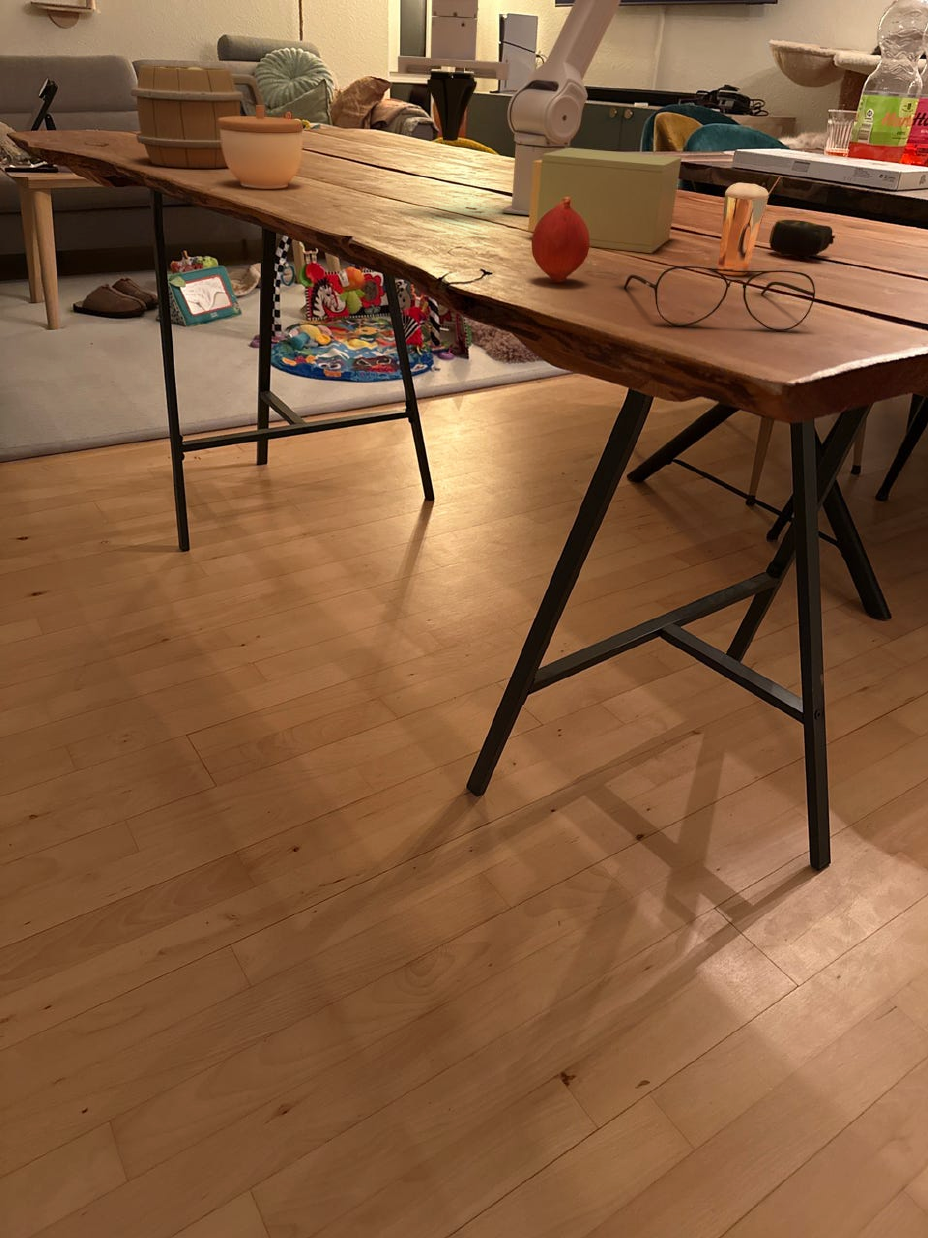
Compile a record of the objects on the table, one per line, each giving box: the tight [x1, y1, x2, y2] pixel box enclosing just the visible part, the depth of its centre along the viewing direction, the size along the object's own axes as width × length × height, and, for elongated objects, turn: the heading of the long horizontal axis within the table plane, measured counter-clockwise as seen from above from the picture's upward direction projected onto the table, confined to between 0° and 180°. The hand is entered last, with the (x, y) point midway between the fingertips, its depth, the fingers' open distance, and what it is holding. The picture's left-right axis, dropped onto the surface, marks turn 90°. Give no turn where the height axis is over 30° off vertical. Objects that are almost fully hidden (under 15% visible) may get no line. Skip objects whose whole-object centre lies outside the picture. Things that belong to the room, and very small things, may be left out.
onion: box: [531, 197, 591, 283], centre depth 93 cm, size 6×6×8 cm
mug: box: [130, 64, 268, 169], centre depth 164 cm, size 19×25×15 cm
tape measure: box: [768, 219, 836, 259], centre depth 114 cm, size 7×7×4 cm
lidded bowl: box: [218, 105, 304, 190], centre depth 143 cm, size 13×13×11 cm
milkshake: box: [717, 176, 781, 277], centre depth 101 cm, size 4×5×10 cm
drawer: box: [527, 159, 542, 232], centre depth 116 cm, size 15×10×8 cm
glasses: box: [623, 265, 816, 332], centre depth 87 cm, size 14×15×5 cm
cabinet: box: [537, 147, 682, 254], centre depth 116 cm, size 15×12×10 cm
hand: (450, 140), depth 123 cm, fingers closed
